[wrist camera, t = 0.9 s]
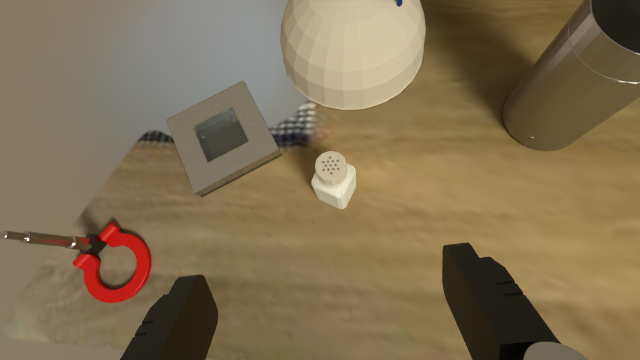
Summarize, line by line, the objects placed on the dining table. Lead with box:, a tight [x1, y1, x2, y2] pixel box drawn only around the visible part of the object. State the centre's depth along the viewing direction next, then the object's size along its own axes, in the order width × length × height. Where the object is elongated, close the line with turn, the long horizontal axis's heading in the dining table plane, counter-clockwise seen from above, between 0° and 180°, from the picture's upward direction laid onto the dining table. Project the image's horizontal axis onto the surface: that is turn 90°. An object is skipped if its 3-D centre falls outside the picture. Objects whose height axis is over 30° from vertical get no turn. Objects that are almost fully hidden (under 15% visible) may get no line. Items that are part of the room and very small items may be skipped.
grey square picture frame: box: [166, 81, 282, 197], centre depth 45 cm, size 12×12×2 cm
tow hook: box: [0, 222, 151, 303], centre depth 36 cm, size 8×13×9 cm
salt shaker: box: [311, 151, 356, 209], centre depth 37 cm, size 4×4×10 cm
